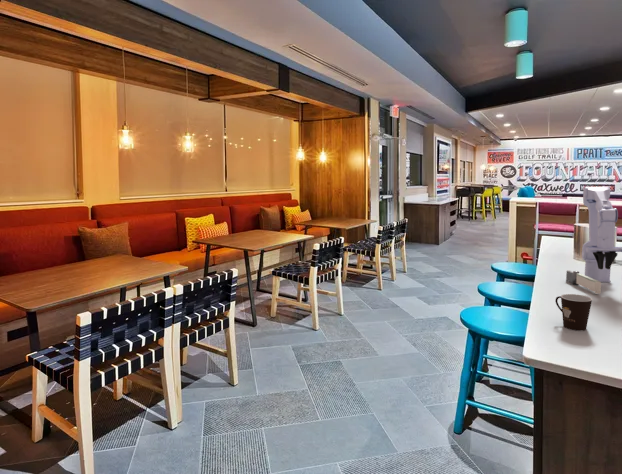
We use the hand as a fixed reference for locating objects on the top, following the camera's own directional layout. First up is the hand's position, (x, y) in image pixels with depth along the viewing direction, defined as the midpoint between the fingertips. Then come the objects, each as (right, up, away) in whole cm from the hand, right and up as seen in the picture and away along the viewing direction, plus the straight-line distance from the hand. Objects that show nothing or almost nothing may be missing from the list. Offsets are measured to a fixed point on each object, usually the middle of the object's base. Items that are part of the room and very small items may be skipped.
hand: (604, 268), depth 177 cm
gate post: (-4, -8, +15) cm, 17 cm away
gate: (-6, -9, +2) cm, 11 cm away
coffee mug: (-38, -16, -39) cm, 56 cm away
